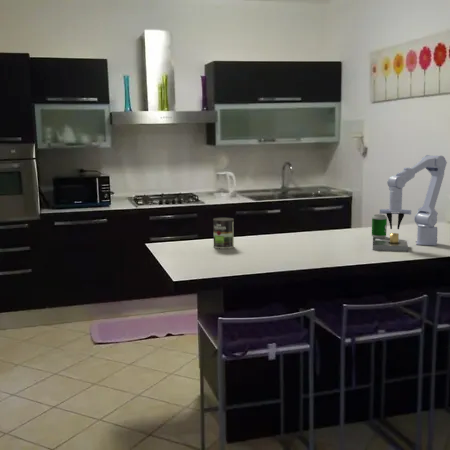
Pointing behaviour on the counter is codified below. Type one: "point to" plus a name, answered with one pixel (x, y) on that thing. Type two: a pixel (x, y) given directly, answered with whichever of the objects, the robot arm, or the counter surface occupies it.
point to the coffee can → (223, 232)
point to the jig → (389, 245)
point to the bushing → (394, 238)
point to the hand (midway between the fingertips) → (394, 228)
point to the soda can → (379, 226)
